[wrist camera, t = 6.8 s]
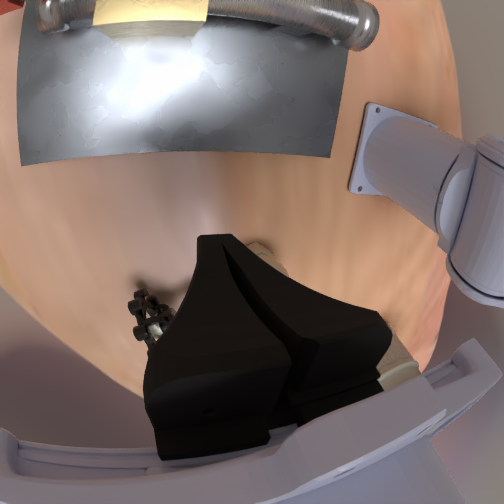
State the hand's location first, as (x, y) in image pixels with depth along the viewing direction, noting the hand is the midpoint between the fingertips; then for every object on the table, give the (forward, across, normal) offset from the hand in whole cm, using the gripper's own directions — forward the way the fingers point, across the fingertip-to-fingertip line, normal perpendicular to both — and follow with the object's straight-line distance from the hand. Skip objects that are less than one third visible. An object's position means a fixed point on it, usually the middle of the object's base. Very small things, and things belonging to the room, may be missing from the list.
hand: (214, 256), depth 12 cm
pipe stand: (+10, +1, -11) cm, 15 cm away
